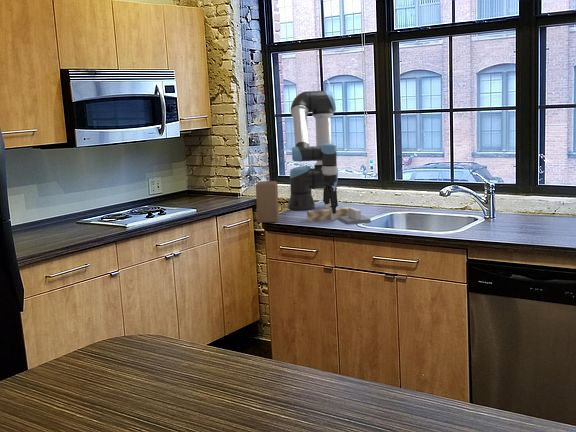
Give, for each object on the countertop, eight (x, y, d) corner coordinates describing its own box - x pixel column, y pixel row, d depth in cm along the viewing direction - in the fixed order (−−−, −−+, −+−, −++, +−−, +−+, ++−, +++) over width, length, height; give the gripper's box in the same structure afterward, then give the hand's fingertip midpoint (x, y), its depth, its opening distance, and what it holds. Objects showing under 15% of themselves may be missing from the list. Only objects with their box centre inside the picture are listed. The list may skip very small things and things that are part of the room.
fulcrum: (339, 219, 340) (339, 208, 339) (361, 217, 344) (361, 206, 342) (347, 224, 329) (347, 212, 328) (370, 222, 332) (370, 210, 331)
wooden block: (279, 218, 348) (277, 180, 344) (276, 222, 338) (275, 183, 335) (259, 219, 349) (258, 181, 345) (257, 223, 339) (255, 184, 336)
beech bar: (310, 222, 339) (309, 212, 338) (307, 220, 342) (307, 211, 341) (353, 217, 346) (353, 208, 345) (350, 216, 350) (350, 206, 349)
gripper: (316, 172, 349) (317, 215, 353) (329, 177, 329) (330, 222, 333) (329, 171, 351) (330, 213, 355) (343, 176, 331) (344, 221, 335)
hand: (330, 218), depth 344 cm, fingers open, 8 cm apart
